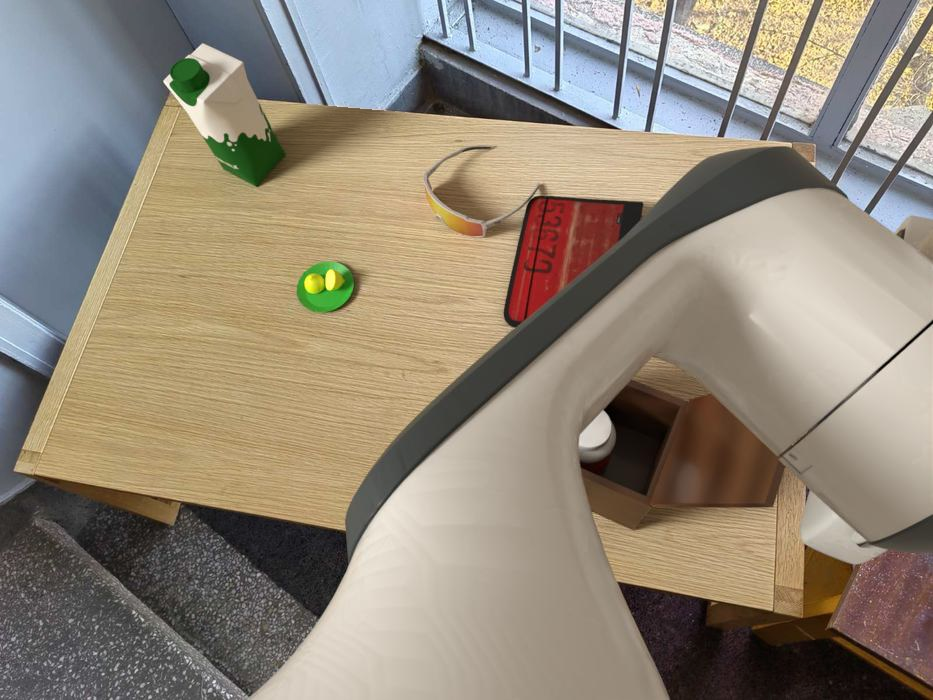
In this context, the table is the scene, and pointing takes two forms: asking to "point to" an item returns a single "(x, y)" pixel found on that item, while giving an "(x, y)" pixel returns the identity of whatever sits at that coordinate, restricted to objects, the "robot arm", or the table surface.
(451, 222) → the sunglasses
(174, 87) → the soya milk
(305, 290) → the plate with lemons
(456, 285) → the table surface
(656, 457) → the chest
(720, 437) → the chest lid
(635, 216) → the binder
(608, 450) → the pill bottle
